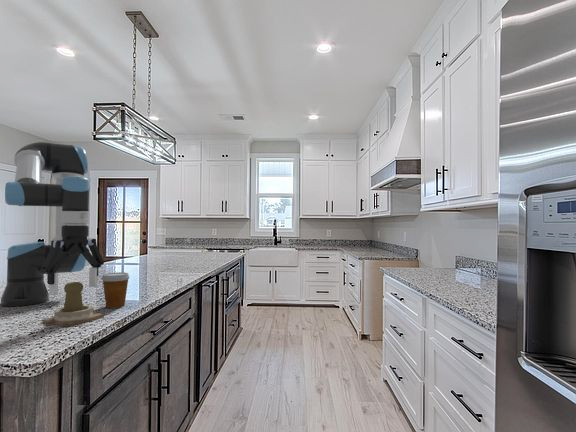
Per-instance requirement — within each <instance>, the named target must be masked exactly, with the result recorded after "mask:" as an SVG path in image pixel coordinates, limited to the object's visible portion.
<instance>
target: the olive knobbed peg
mask: <svg viewBox="0 0 576 432" xmlns="http://www.w3.org/2000/svg"><path fill="white" fill-rule="evenodd" d="M63 289H64V290H63V291H64V293H65V298H64V304H63V307H64V309H63V312H75V311H81V310H83V305H84V304H83V297H82V292H83V289H84V285H83V283H82V282H78V281H70V282H67V283H65V285H64V288H63Z"/></svg>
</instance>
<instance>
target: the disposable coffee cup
mask: <svg viewBox="0 0 576 432" xmlns="http://www.w3.org/2000/svg"><path fill="white" fill-rule="evenodd" d="M101 276H102V277H101V281H102V284H103V293H104V295H103V296H104V301H105V302H104V303H105V307H106V308H107V309H117V308H122V307H124V306H125V304H126V297H127V291H128V283H129V279H130V274H129V272H123V271H122V272H118V271H117V272H107V273H103V274H102V275H101Z"/></svg>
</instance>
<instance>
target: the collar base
mask: <svg viewBox="0 0 576 432" xmlns="http://www.w3.org/2000/svg"><path fill="white" fill-rule="evenodd" d="M63 309H64V306H63V307H58V308H57V309H54V310H53V311H54V313H53V315H54V316H52V317H47V318H43V319H42V322H41V323H42V324H47V325H55V326H61V327H67V328H71V327H74V326H79V325H82V324H85V323H88V322H92V321H95V320H98V318H99V319H102V318H104V317H105V314H104V313H98V312H94V306H92V305H89V304H83V310H81V311H75V312H63Z"/></svg>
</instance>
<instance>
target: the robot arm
mask: <svg viewBox="0 0 576 432" xmlns="http://www.w3.org/2000/svg"><path fill="white" fill-rule="evenodd" d="M87 157H88V155H87V153H86V149H84V147H82V146H79V145H73V144H63V143H53V142H44V141H37V142H32V143H29V144H26V145H24V146H22V147H21V148H20V149H18V150H17V151H16V153H15V154H14V160H13V161H14V165H15V166H16V168H15V177H14V181H8V182H6V183H5V186H4V200H5V201H4V202H5V204H6V205H8V206H17V207H18V206H19V207H54V208H55V235H54V237H53V238H52V239H51V240H50V244H46V243H45V242H44V241H35V242H34V241H33V242H26V243H20V244H15V245H14V244H13V245H11V246H10V247H8V250H7V256H6V260H7V266H6V267H7V271H6V284H5V288H4V290H3V292H2V296H1V298H0V306H2V307H22V306H23V307H24V306H31V305H38V304H41V303H45V302H47V301H49V300H50V296H58V295H59V274H64V273H66V274H67V273H70V274H71V273H76V272H81V271H83V270H84V269H85V266H86V264H87V263H88V264H89V265H90V266H91V267H90V266H89V269H88V271H89V272H88V275H89V277H88V287H90V288H97V287H98V284H97V283H98V277H99V268H102V266H103V265H104V264H105V262H104V259H103V257H102V255H101V251H100V249H99V247H98V245H97V239H96V238H88V237H89V235H90V233H89V232H90V231H89V225H87V224H89V222H90V221H89V220H90V189H91V188H90V187H91V186H90V180H89V179H88V178H87V177H85V175H86V174H87V173H88V172H89V167H88V164H89V163H88V158H87ZM42 171H47V172H51V177H53V178H54V179H55V182H56V183H55V184H54V183H43V182H42V181H43V180H42V179H43V178H42V176H43V175H42V174H43V173H42ZM45 275H47V276H46V279H47V280H46V283H47V285H49V289H47V286H46V283H45V280H44V279H45ZM48 290H49V291H48Z"/></svg>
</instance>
